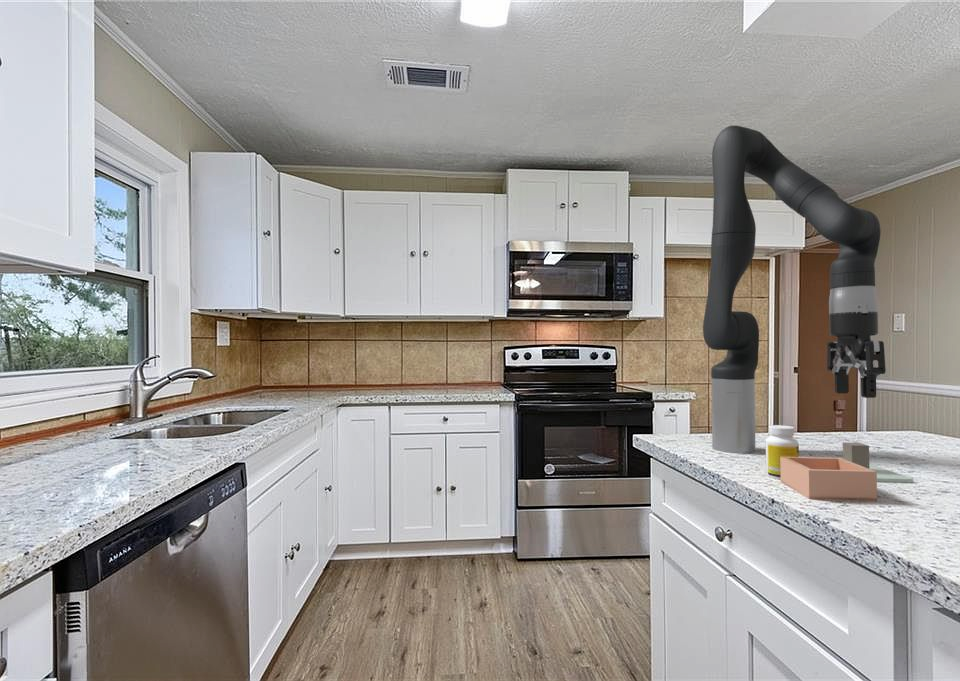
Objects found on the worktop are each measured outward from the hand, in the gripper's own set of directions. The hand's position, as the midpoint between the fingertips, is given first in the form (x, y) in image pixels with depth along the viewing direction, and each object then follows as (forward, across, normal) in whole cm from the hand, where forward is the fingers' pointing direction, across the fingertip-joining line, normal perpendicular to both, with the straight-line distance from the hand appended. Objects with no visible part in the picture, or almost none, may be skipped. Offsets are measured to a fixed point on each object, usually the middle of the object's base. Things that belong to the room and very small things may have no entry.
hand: (854, 395), depth 96 cm
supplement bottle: (+16, +4, -15) cm, 22 cm away
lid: (+15, 0, 0) cm, 15 cm away
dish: (+15, +13, -12) cm, 23 cm away
